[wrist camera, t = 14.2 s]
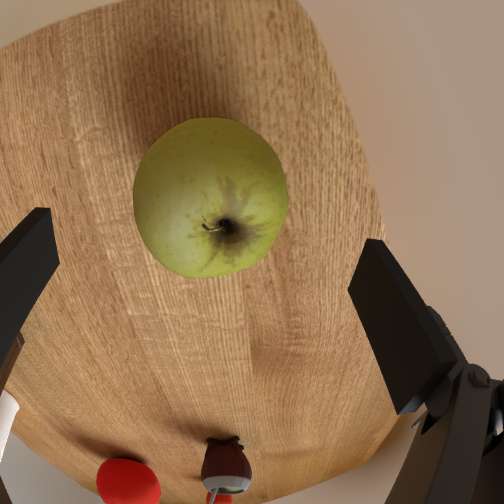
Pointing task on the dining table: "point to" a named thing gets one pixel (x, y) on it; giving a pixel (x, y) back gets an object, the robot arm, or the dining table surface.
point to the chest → (10, 360)
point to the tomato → (127, 482)
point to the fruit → (219, 498)
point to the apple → (209, 198)
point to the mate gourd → (225, 468)
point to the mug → (6, 417)
